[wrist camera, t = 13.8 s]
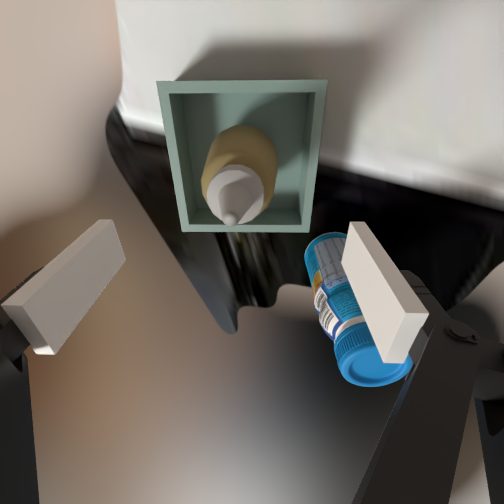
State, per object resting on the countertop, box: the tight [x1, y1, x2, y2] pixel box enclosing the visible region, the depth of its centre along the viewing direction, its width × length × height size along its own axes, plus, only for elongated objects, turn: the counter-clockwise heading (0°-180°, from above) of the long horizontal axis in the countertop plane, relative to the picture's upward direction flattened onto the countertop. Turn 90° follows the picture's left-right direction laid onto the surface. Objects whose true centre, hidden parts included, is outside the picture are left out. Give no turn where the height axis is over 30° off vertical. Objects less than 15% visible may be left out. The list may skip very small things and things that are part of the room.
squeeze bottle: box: [201, 125, 278, 226], centre depth 25 cm, size 8×8×18 cm
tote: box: [156, 79, 328, 232], centre depth 31 cm, size 16×16×6 cm
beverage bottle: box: [305, 232, 413, 387], centre depth 33 cm, size 8×8×20 cm
